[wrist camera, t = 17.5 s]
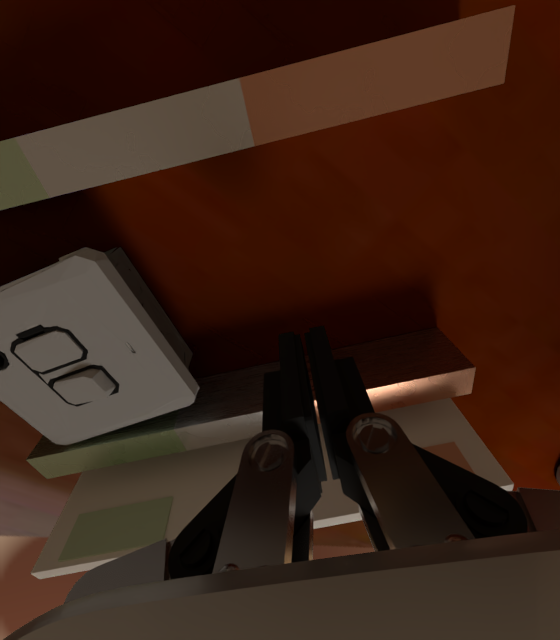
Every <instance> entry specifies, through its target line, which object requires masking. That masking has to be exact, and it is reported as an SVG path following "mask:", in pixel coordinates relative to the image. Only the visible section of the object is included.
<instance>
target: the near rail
mask: <svg viewBox="0 0 560 640" xmlns="http://www.w3.org/2000/svg"><path fill="white" fill-rule="evenodd" d="M514 11H515V5H513V6H509V7H505V8H502V9H498V10H494V11H490V12H487V13H483V14H479V15H475V16H471V17H468V18H464V19H460V20H456V21H453V22H449V23H445V24H441V25H437V26H434V27H430V28H426V29H422V30H419V31H415V32H411V33H407V34H404V35H400V36H396V37H392V38H388V39H385V40H381V41H377V42H373V43H370V44H366V45H362V46H358V47H354V48H351V49H347V50H343V51H339V52H336V53H332V54H328V55H324V56H320V57H317V58H313V59H309V60H305V61H302V62H298V63H294V64H290V65H287V66H283V67H279V68H275V69H271V70H268V71H264V72H260V73H256V74H253V75H249V76H245V77H241V78H237V79H234V80H230V81H226V82H222V83H219V84H215V85H211V86H207V87H203V88H200V89H196V90H192V91H188V92H185V93H181V94H177V95H173V96H170V97H166V98H162V99H158V100H154V101H151V102H147V103H143V104H139V105H136V106H132V107H128V108H124V109H120V110H117V111H113V112H109V113H105V114H102V115H98V116H94V117H90V118H86V119H83V120H79V121H75V122H71V123H68V124H64V125H60V126H56V127H53V128H49V129H45V130H41V131H37V132H34V133H30V134H26V135H22V136H19V137H15V138H11V139H7V140H3V141H0V210H4V209H8V208H12V207H15V206H19V205H23V204H27V203H31V202H35V201H39V200H43V199H47V198H51V197H55V196H59V195H63V194H67V193H71V192H75V191H79V190H83V189H87V188H91V187H95V186H99V185H103V184H107V183H111V182H115V181H119V180H122V179H126V178H130V177H134V176H138V175H142V174H146V173H150V172H154V171H158V170H162V169H166V168H170V167H174V166H178V165H182V164H186V163H190V162H194V161H198V160H202V159H206V158H210V157H214V156H218V155H222V154H226V153H229V152H233V151H237V150H241V149H245V148H249V147H253V146H257V145H261V144H265V143H269V142H273V141H277V140H281V139H285V138H289V137H293V136H297V135H301V134H305V133H309V132H313V131H317V130H321V129H325V128H329V127H333V126H336V125H340V124H344V123H348V122H352V121H356V120H360V119H364V118H368V117H372V116H376V115H380V114H384V113H388V112H392V111H396V110H400V109H404V108H408V107H412V106H416V105H420V104H424V103H428V102H432V101H436V100H440V99H444V98H447V97H451V96H455V95H459V94H463V93H467V92H471V91H475V90H479V89H483V88H487V87H491V86H495V85H499V84H503V83H504V80H505V73H506V66H507V59H508V52H509V45H510V38H511V32H512V25H513V18H514Z"/></svg>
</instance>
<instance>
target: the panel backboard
mask: <svg viewBox="0 0 560 640" xmlns="http://www.w3.org/2000/svg"><path fill="white" fill-rule="evenodd" d="M376 413H380V414H383V415H386V416H389V417H390V418H392V419H393V420H395V421H396V422H397V423H398V424H399V426H400V427H401V428H402V430H403V431H404V433H405V434H406V436H407V437H408V439H409V440H410V442H411V443H412V444H414V445H416V446H418V447H421V448H423V449H425V450H427V451H429V452H431V453H433V454H435V455H437V456H439V457H441V458H443V459H445V460H447V461H449V462H451V463H453V464H455V465H458V466H460V467H462V468H464V469H466V470H468V471H470V472H472V473H474V474H476V475H478V476H480V477H482V478H484V479H486V480H488V481H490V482H492V483H494V484H496V485H498V486H499V487H501V488H503V489H504V490H506V491H512V489H513V486H514V483H513V482H512V481H511V479H510V478H509V477H508V475H507V474H506V473H505V471H504V470H503V468H502V467H501V466H500V464H499V463H498V462H497V460H496V459H495V458H494V456H493V455H492V454H491V452H490V451H489V450H488V448H487V447H486V446H485V444H484V443H483V442H482V440H481V439H480V438H479V436H478V435H477V433H476V432H475V431H474V429H473V428H472V427H471V425H470V424H469V423H468V421H467V420H466V419H465V417H464V416H463V415H462V413H461V412H460V411H459V409H458V408H457V407H456V405H455V404H454V403H453V401H452V400H451V398H446V399H441V400H436V401H431V402H426V403H421V404H416V405H411V406H406V407H401V408H396V409H391V410H386V411H381V412H376ZM318 428H319V434H320V439H321V445H322V451H323V457H324V463H325V469H326V475H327V481H323V482H321V485H322V492H323V493H321V498H320V499H319V501H318V502H317V503H316V505H315V506H314V508H313V514H314V522H313V529H315V528H321V527H326V526H332V525H337V524H343V523H348V522H354V521H359V520H362V517H361V515H360V512H359V509H358V505H357V503H356V502H354V501H353V500H352V499H350V498H349V497H347V496H346V495H344V494H343V490H342V487H341V482H340V479H336V480H333V478H332V473H331V469H330V464H329V459H328V455H327V450H326V446H325V441H324V436H323V432H322V427H321V424H318ZM250 439H251V438H247V439H242V440H237V441H232V442H227V443H222V444H217V445H212V446H207V447H202V448H197V449H193V450H188V451H183V452H178V453H173V454H168V455H163V456H158V457H153V458H148V459H143V460H138V461H133V462H128V463H123V464H118V465H113V466H108V467H103V468H98V469H93V470H88V471H83V472H82V474H81V476H80V478H79V480H78V482H77V484H76V486H75V487H74V489H73V491H72V493H71V495H70V497H69V499H68V501H67V503H66V505H65V507H64V509H63V511H62V513H61V515H60V517H59V519H58V521H57V523H56V525H55V526H54V528H53V530H52V532H51V534H50V536H49V538H48V540H47V542H46V544H45V546H44V548H43V550H42V552H41V554H40V556H39V558H38V560H37V562H36V564H35V566H34V567H33V570H32V571H31V574H32V575H34V576H35V577H37V578H38V579H43V578H48V577H54V576H59V575H65V574H70V573H75V572H81V571H86V570H92V569H93V568H95V567H97V566H100V565H102V564H104V563H107V562H109V561H112V560H114V559H117V558H119V557H122V556H124V555H126V554H129V553H131V552H134V551H136V550H139V549H141V548H144V547H146V546H148V545H151V544H153V543H156V542H158V541H161V540H163V539H167V540H168V541H171V540H174V539H176V537H177V536H178V535H179V534H180V532H181V531H182V530H183V529H184V528H185V527H186V526H187V525H188V523H189V522H190V521H191V520H192V519H193V518H194V517H195V516H196V515H197V514H198V513H199V512H200V511H201V510H202V509H203V508H204V507H205V506H206V505H207V504H208V503H209V502H210V501H211V500H212V499H213V498H214V497H215V496H216V495H217V494H218V493H219V492H220V490H221V489H222V488H223V487H224V486H225V485H226V484H227V483H228V482H229V481H230V480H231V479H232V478H233V477H234V476H235V475H236V474H237V473H238V469H239V465H240V461H241V457H242V453H243V450H244V448H245V445H246V444H247V443H248V442H249V440H250Z"/></svg>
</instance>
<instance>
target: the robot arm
mask: <svg viewBox="0 0 560 640" xmlns="http://www.w3.org/2000/svg"><path fill="white" fill-rule="evenodd" d="M309 330H310V332H309V333H304V335H305V340H306V346H307V352H308V357H309V363H310V368H311V374H312V380H313V385H314V391H315V396H316V402H317V408H318V413H319V418H320V423H321V427H322V432H323V436H324V441H325V446H326V450H327V455H328V459H329V464H330V469H331V473H332V478H333V480H336V479H340V482H341V487H342V490H343V494H344V495H346V496H347V497H349V498H350V499H352V500H353V501H354V502H356V503H357V505H358V509H359V512H360V515H361V517H362V520H363V522H364V525H365V527H366V530H367V532H368V535H369V537H370V540H371V543H372V545H373V548H374V550H375V552H370V553H363V554H355V555H347V556H340V557H332V558H325V559H317V560H313V522H314V514H313V508H314V506H315V505H316V503H317V502H318V501H319V499H320V498H321V493H323V492H322V485H321V482H323V481H327V475H326V469H325V463H324V457H323V451H322V445H321V439H320V434H319V428H318V422H317V416H316V410H315V404H314V398H313V393H312V388H311V383H310V379H309V374H308V370H307V365H306V361H305V356H304V351H303V347H302V342H301V338H300V334H299V335H294V332H289V333H284V334H279V356H280V370H278V371H273V372H267V373H264V382H263V415H262V432H260V433H258V434H256V435H255V436H254V437H252V438H251V439H250V440H249V442H248V443H247V444H246V445H245V448H244V450H243V453H242V457H241V461H240V465H239V469H238V473H237V474H236V475H235V476H234V477H233V478H232V479H231V480H230V481H229V482H228V483H227V484H226V485H225V486H224V487H223V488H222V489H221V490H220V492H219V493H218V494H217V495H216V496H215V497H214V498H213V499H212V500H211V501H210V502H209V503H208V504H207V505H206V506H205V507H204V508H203V509H202V510H201V511H200V512H199V513H198V514H197V515H196V516H195V517H194V518H193V519H192V520H191V521H190V522H189V523H188V525H187V526H186V527H185V528H184V529H183V530H182V531H181V532H180V534H179V535H178V536H177V537H176V539H174V540H171V541H168V540H167V539H163V540H161V541H158V542H156V543H153V544H151V545H148V546H146V547H144V548H141V549H139V550H136V551H134V552H131V553H129V554H126V555H124V556H122V557H119V558H117V559H114V560H112V561H109V562H107V563H104V564H102V565H100V566H97V567H95V568H93V569H92V570H90V571H88V572H87V573H85V574H84V576H82V577H81V578H80V579H79V580H78V581H77V582H76V584H75V585H74V586H73V588H72V589H71V591H70V592H69V594H68V595H67V598H66V600H65V602H64V604H63V605H61V606H58V607H56V608H54V609H52V610H50V611H48V612H46V613H45V614H43V615H41V616H39V617H37V618H35V619H33V620H32V621H30V622H29V623H27V624H26V625H24V626H22V627H21V628H19V629H17V630H16V631H14V632H13V633H12V634H10V635H9V636H7V637H6V638H5V639H3V640H560V491H558V490H545V489H532V488H519V487H518V489H517V492H516V491H506V490H504V489H503V488H501V487H499V486H498V485H496V484H494V483H492V482H490V481H488V480H486V479H484V478H482V477H480V476H478V475H476V474H474V473H472V472H470V471H468V470H466V469H464V468H462V467H460V466H458V465H455V464H453V463H451V462H449V461H447V460H445V459H443V458H441V457H439V456H437V455H435V454H433V453H431V452H429V451H427V450H425V449H423V448H421V447H418V446H416V445H414V444H412V443H411V442H410V440H409V439H408V437H407V436H406V434H405V433H404V431H403V430H402V428H401V427H400V426H399V424H398V423H397V422H396V421H395V420H393V419H392V418H390V417H389V416H386V415H383V414H380V413H375V411H374V409H373V406H372V404H371V401H370V398H369V396H368V393H367V391H366V388H365V386H364V383H363V381H362V378H361V375H360V373H359V370H358V368H357V365H356V363H355V360H354V358H353V357H347V358H342V359H337V360H334V358H333V355H332V351H331V348H330V345H329V341H328V338H327V334H326V331H325V328H324V326H319V327H314V328H309ZM556 478H557V482H558V483H559V485H560V465H559V466H558V469H557V473H556Z"/></svg>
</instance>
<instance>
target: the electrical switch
mask: <svg viewBox="0 0 560 640" xmlns="http://www.w3.org/2000/svg"><path fill="white" fill-rule="evenodd" d="M116 248H117V247H116ZM116 248H113V249H111V250H109V251H106V252H104V253H103V252H100V251H97V250H93V249H90V248H87V247H85V248H82V249H80V250H77V251H75V252H73V253H70V254H68V255H65V256H63V257H60V258H59V262H57V263H55V264H52V265H50V266H48V267H45V268H43V269H41V270H38V271H36V272H34V273H31V274H29V275H27V276H24V277H22V278H20V279H17V280H15V281H12V282H10V283H8V284H5V285H3V286H1V287H0V401H2V402H3V403H4V404H5V405H7V406H8V407H9V408H10V409H12V410H13V411H14V412H15V413H17V414H18V415H19V416H20V417H22V418H23V419H24V420H25V421H27V422H28V423H29V424H30V425H32V426H33V427H34V428H35V429H37V430H38V431H39V432H40V433H42V434H43V435H44V436H45V437H47V438H48V439H49V440H51V441H52V442H54V443H55V444H60V445H70V444H73V443H76V442H79V441H82V440H85V439H88V438H91V437H94V436H98V435H101V434H104V433H107V432H110V431H113V430H116V429H119V428H122V427H125V426H128V425H131V424H134V423H137V422H141V421H144V420H147V419H150V418H153V417H156V416H159V415H162V414H165V413H168V412H171V411H174V410H177V409H180V408H183V407H187V406H190V405H191V404H192V403H193V402H194V401H195V398H196V395H197V392H198V390H199V386H198V384H197V382H196V381H195V380H194V378H193V377H192V375H191V374H190V373H189V364H190V361H191V358H192V355H193V353H192V352H191V350H190V349H189V347H188V346H187V344H186V343H185V341H184V340H183V338H182V337H181V335H180V334H179V332H178V331H177V330H176V328H175V327H174V325H173V324H172V322H171V321H170V319H169V318H168V316H167V315H166V313H165V312H164V310H163V309H162V307H161V306H160V304H159V303H158V301H157V300H156V299H155V297H154V296H153V294H152V293H151V291H150V290H149V288H148V287H147V285H146V284H145V282H144V281H143V279H142V278H141V276H140V275H139V273H138V272H137V270H136V269H135V268H134V266H133V265H132V263H131V262H130V260H129V259H128V257H127V256H126V254H125V253H124V251H123V250H122V248H121V247H120V248H118V249H117V250H115V249H116ZM114 250H115V251H114ZM113 251H114V252H113ZM112 252H113V253H112ZM129 269H130V270H131V271H130V270H129ZM142 304H143V307H142ZM161 331H162V333H161ZM178 339H179V340H178Z"/></svg>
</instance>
